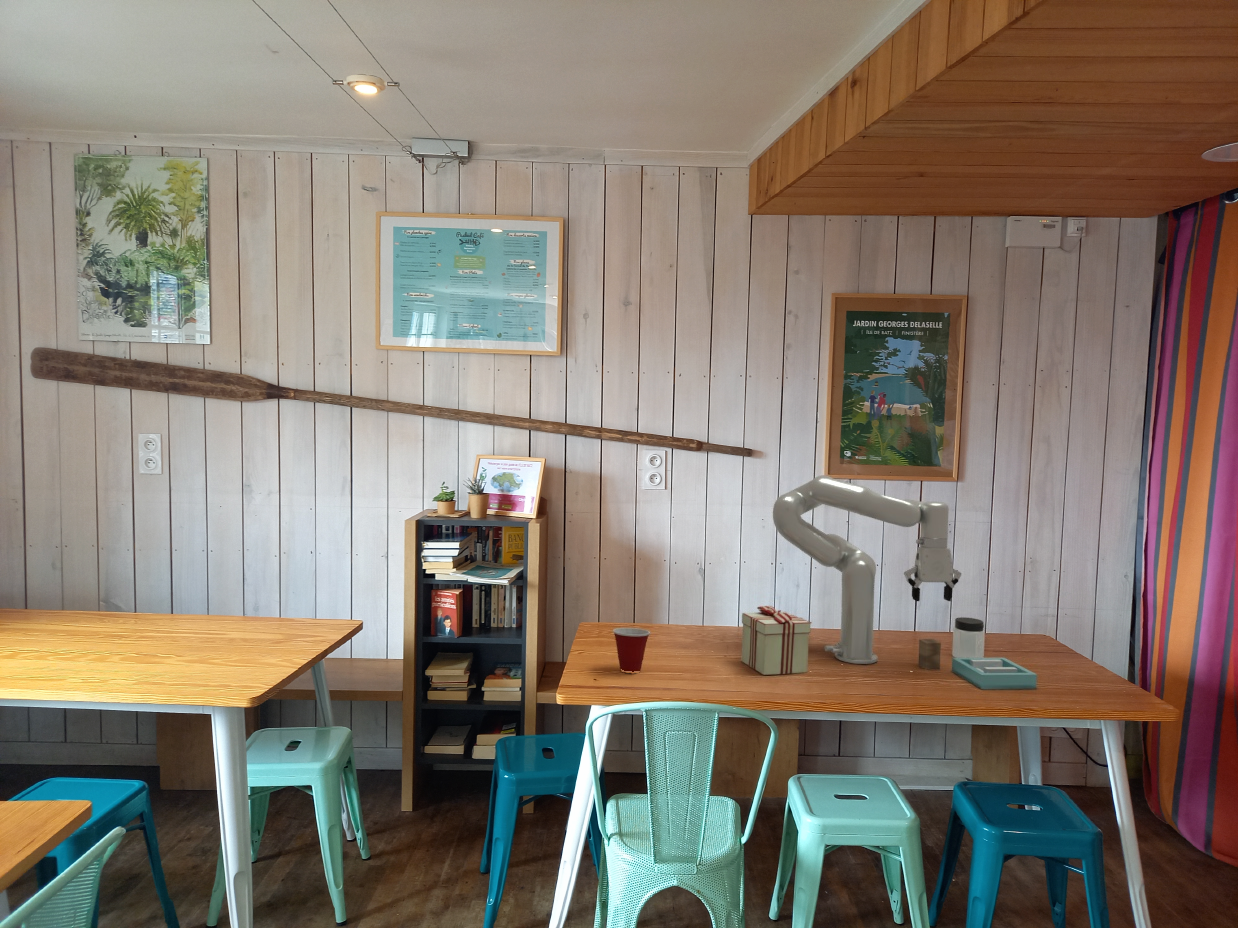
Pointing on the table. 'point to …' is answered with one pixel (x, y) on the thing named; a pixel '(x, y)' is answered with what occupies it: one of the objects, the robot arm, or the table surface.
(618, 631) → the plastic cup
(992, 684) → the candle dish
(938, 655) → the brown wooden block
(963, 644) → the jar
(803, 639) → the gift box
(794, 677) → the table surface
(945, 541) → the robot arm
